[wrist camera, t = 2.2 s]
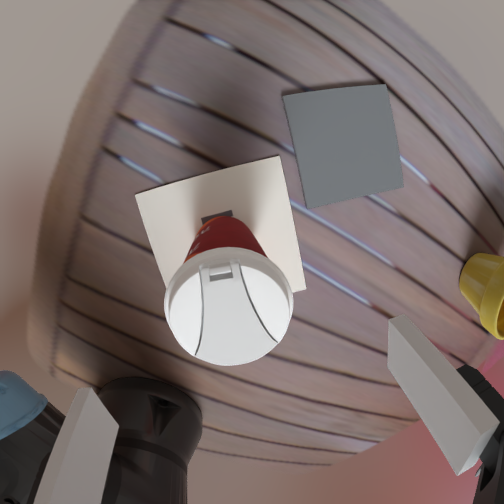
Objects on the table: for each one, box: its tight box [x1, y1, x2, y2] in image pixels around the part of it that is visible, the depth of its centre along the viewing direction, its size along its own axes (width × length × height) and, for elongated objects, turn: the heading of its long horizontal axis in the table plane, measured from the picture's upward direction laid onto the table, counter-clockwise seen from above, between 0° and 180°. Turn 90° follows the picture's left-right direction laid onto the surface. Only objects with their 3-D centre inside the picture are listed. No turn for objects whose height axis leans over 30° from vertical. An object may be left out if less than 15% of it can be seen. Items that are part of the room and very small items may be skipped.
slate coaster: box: [282, 84, 404, 209], centre depth 28 cm, size 11×11×1 cm
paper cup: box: [164, 216, 293, 366], centre depth 24 cm, size 8×8×14 cm
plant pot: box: [459, 253, 504, 340], centre depth 31 cm, size 10×10×10 cm
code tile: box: [135, 156, 306, 293], centre depth 30 cm, size 14×14×1 cm
